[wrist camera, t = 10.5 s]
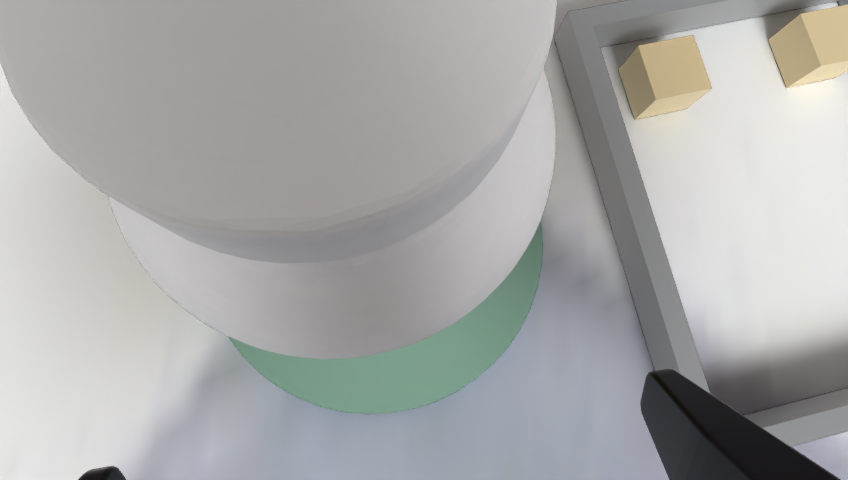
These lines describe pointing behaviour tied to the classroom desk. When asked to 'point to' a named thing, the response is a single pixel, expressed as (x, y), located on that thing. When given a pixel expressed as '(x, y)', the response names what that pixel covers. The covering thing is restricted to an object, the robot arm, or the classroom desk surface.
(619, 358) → the classroom desk surface
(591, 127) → the tray
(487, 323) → the coaster
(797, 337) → the classroom desk surface
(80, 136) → the supplement bottle
